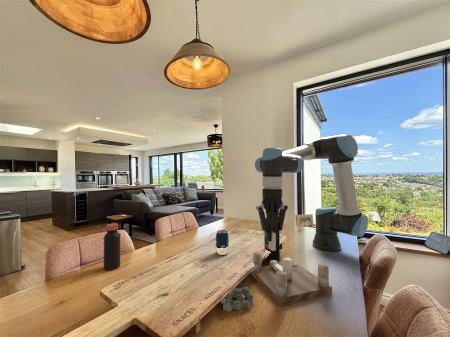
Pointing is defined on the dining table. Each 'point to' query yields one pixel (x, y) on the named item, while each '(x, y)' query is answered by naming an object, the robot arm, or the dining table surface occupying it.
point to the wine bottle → (274, 254)
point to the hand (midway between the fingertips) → (272, 249)
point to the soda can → (222, 239)
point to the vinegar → (112, 247)
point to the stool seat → (291, 282)
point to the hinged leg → (286, 267)
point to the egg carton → (241, 302)
